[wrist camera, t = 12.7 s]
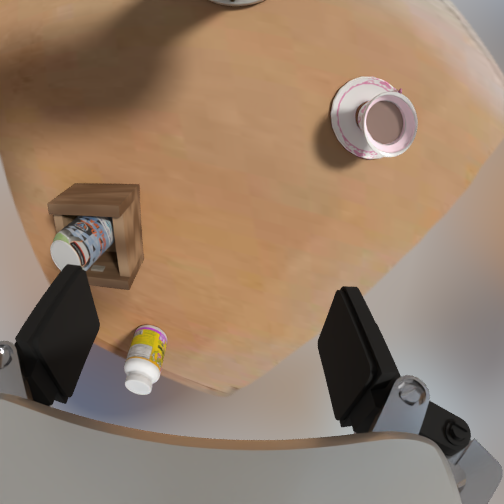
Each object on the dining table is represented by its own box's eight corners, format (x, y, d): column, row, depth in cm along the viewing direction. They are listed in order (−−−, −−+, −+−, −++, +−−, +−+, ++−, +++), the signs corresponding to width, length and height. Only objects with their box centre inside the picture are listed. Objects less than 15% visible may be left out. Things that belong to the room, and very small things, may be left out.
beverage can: (133, 231, 41) (102, 280, 30) (93, 237, 41) (58, 284, 31) (121, 192, 37) (83, 233, 27) (81, 201, 38) (38, 241, 27)
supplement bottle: (167, 348, 55) (157, 401, 44) (136, 342, 54) (121, 393, 43) (168, 326, 52) (155, 381, 41) (134, 320, 51) (116, 373, 40)
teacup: (388, 170, 38) (409, 183, 33) (317, 140, 36) (330, 148, 31) (416, 100, 33) (440, 104, 27) (346, 62, 30) (364, 57, 25)
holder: (74, 183, 37) (47, 203, 30) (139, 184, 38) (118, 205, 31) (85, 253, 43) (64, 281, 36) (143, 259, 44) (129, 290, 37)
